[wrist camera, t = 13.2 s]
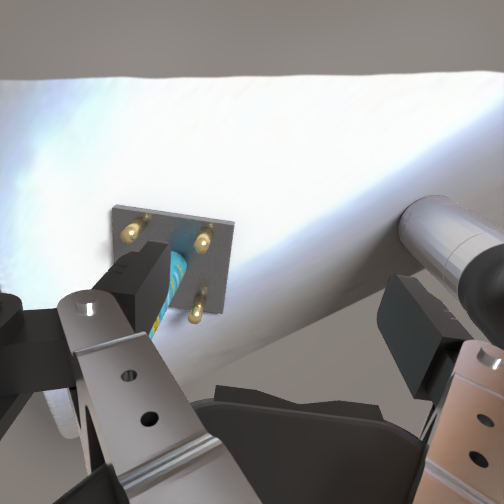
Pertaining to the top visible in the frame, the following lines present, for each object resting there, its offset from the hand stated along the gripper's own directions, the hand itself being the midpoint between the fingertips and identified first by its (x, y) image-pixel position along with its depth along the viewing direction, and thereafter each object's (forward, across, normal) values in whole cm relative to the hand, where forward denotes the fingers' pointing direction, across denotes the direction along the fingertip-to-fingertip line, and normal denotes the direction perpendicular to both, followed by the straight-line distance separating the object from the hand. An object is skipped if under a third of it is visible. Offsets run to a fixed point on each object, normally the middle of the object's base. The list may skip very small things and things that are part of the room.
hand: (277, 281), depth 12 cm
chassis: (+38, +12, +20) cm, 44 cm away
